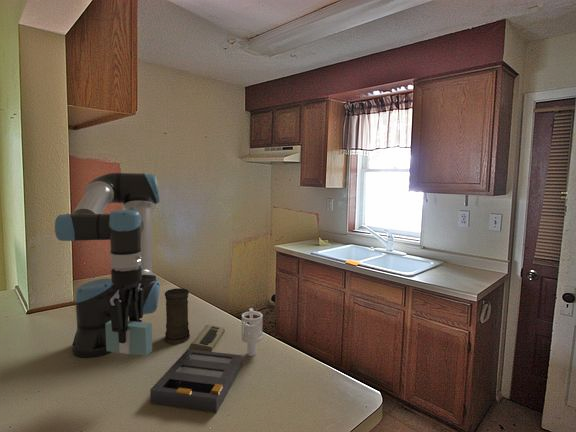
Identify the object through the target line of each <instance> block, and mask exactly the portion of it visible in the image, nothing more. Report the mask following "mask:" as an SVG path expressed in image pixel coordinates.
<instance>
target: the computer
mask: <svg viewBox="0 0 576 432" xmlns="http://www.w3.org/2000/svg"><path fill="white" fill-rule="evenodd" d="M225 332H226V329H225V327H223V326H217V325H214V324H205V326H203V328H202V329H201V330H200V331H199V333H198V334H197V335H196V337H195V338H194V339H193V340H192V342H191V343H190V346H189V349H191V350H200V351H209V352H213V350H214V348H215V347H216V345H218V342H219V341H220V339H221V337H222V336H223V335H224V333H225Z"/></svg>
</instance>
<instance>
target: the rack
mask: <svg viewBox="0 0 576 432" xmlns="http://www.w3.org/2000/svg"><path fill="white" fill-rule="evenodd" d="M242 367H243V355H241V354H235V353H226V352H225V353H224V352H217V351H212V352H209V351H200V350H191V349H190V348H187V349H186V350H185V351H184V352H183V354H182V355H181V356H180V357H179V358H178V359H177V360H176V361H175V363H173V364H172V365H171V366H170V367H169V369H168V370H167V371H166V372H164V374H163V375H162V376H161V377H160V378H159V380H158V381H157V382H156V383H155V384H154V385H153V386H152V387H151V388H150V391H149V394H150V395H149V397H150V405H151V404H152V405H159V406H164V407H165V406H166V407H170V408H180V409H187V410H192V411H201V412H208V413H213V414H217V413H218V411H219V409H220V407H221V406H222V404H223V402H224V401H225V399H226V398H227V397H226V396H227V395H228V393H229V391H230V389H231V388H232V385H233V384H234V383H235V380H236V379H237V377H238V375H239V373H240V371H242Z"/></svg>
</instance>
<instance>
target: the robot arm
mask: <svg viewBox="0 0 576 432" xmlns="http://www.w3.org/2000/svg"><path fill="white" fill-rule="evenodd" d="M158 187H159V186H158V179H157V177H156V175H154V174H152V173H144V172H143V173H142V172H141V173H135V172H134V173H131V172H110V173H106V174H103V175H100V176H98V177H96V178H93V180H91V181H90V182H88V184H87V185H86V187H85V188H84V195H83V197H82V198H81V200H80V201H79V202H78V204H77V206H76V207H75V208H74V210H73V212H72V213H65V214H64V213H63V214H58V215H57V217H55V221H54V233H55V234H54V235H55V236H56V239H58V240H59V241H60V242H80V241H81V242H83V241H86V242H87V241H106V240H107V241H110V267H111V270H110V273H111V276H110V277H111V278H106V277H105V278H99V279H94V280H91V281H87V282H85V283H83V284H81V285H80V286H78V287H77V288H76V291H75V312H76V313H75V314H76V331H75V334H74V338H73V341H72V344H71V352H72V354H73V355H74V356H76V357H79V358H96V357H100V356H104V355H106V354H109V353H111V352H110V351H106V328H105V324H106V323H107V322H109V321H110V320H111V326H112V331H113V332H118V339H119V351H120V354H128V355H130V354H129V353H130V330H127V327H128V321H135V322H143V321H142V319H143V316H144V315H147V314H148V315H149V314H150V315H151V314H153V313H155V312H156V311H157V310H158V304H159V298H160V290H161V281H160V280H159V279H157V275H156V274H155V273H154V272H153V270H152V269H153V267H152V266H153V264H152V261H153V256H152V255H153V247H152V246H153V244H152V243H153V241H152V240H153V238H152V237H153V236H152V235H153V230H152V229H153V226H152V224H153V222H152V221H153V217H152V216H153V215H152V214H153V213H152V212H153V211H154V210H155V209H156V207H157V204H159V203H160V202H161V201H160V193H159V188H158ZM110 204H123V208H124V209H116V210H113V211H111V212H110V213H104V212H105V210H106V208H107V206H108V205H110Z"/></svg>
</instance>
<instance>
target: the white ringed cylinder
mask: <svg viewBox="0 0 576 432" xmlns="http://www.w3.org/2000/svg"><path fill="white" fill-rule="evenodd" d="M248 310H249V311H246V312H243V313H242V314H241V341H242V342H244V343H246V344H247V349H246V352H247V353H246V354H247V356H249V357H253V356H256V355H257V343H259V342H261V341H263V340H262V339H263V318H264V317H263V316H264V315H263V313H262V312H260V311H255V310H254V308H253V307H251V308H249V309H248ZM246 316H249V318H248V317H246ZM254 316H258V317H257V318H256V317H255V318H254ZM247 323H248V324H247Z"/></svg>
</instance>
